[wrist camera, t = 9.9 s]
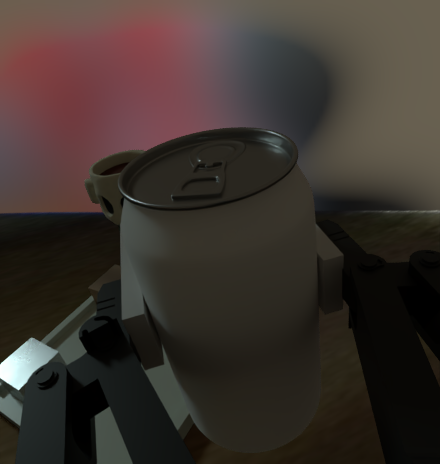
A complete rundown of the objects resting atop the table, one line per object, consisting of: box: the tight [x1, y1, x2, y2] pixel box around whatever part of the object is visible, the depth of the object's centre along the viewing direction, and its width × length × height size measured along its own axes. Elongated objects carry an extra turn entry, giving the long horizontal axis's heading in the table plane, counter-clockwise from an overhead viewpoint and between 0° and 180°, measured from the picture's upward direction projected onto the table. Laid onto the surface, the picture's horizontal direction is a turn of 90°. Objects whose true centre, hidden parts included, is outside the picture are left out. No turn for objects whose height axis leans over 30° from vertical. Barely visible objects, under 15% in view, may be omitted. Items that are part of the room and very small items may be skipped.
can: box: [118, 127, 321, 453], centre depth 15 cm, size 6×6×12 cm
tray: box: [0, 296, 194, 464], centre depth 35 cm, size 18×18×2 cm
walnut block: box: [89, 265, 121, 305], centre depth 40 cm, size 4×4×3 cm
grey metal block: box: [0, 337, 67, 402], centre depth 33 cm, size 4×4×3 cm
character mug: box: [85, 150, 145, 231], centre depth 45 cm, size 11×7×13 cm, turn 77°
